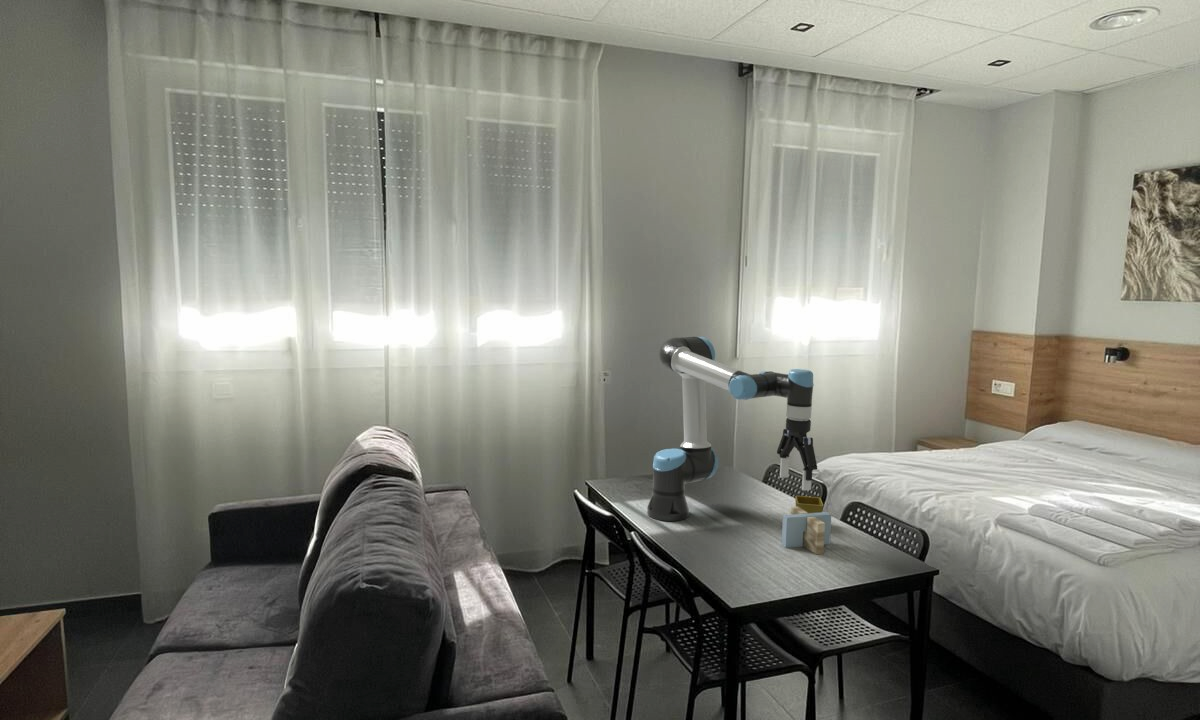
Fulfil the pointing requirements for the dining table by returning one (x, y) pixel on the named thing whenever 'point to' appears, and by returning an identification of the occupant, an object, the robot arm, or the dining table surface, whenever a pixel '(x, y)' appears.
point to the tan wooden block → (812, 532)
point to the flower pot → (809, 504)
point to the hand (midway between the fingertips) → (794, 483)
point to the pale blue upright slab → (802, 528)
